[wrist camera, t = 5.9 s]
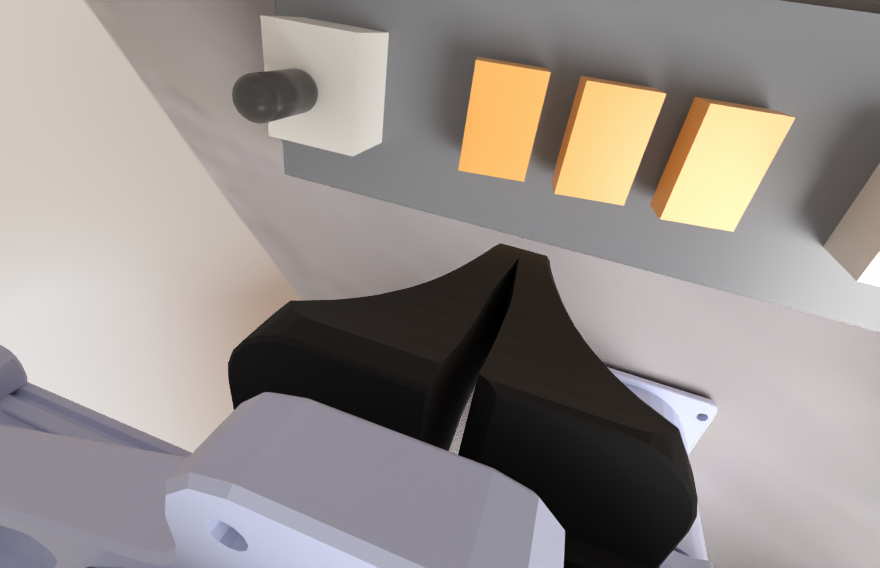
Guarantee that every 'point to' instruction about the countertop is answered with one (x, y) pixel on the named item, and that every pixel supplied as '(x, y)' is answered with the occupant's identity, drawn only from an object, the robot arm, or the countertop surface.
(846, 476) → the countertop surface
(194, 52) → the countertop surface
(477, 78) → the switch
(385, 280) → the countertop surface
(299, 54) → the left plug
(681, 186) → the switch
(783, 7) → the power strip
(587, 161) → the middle switch
